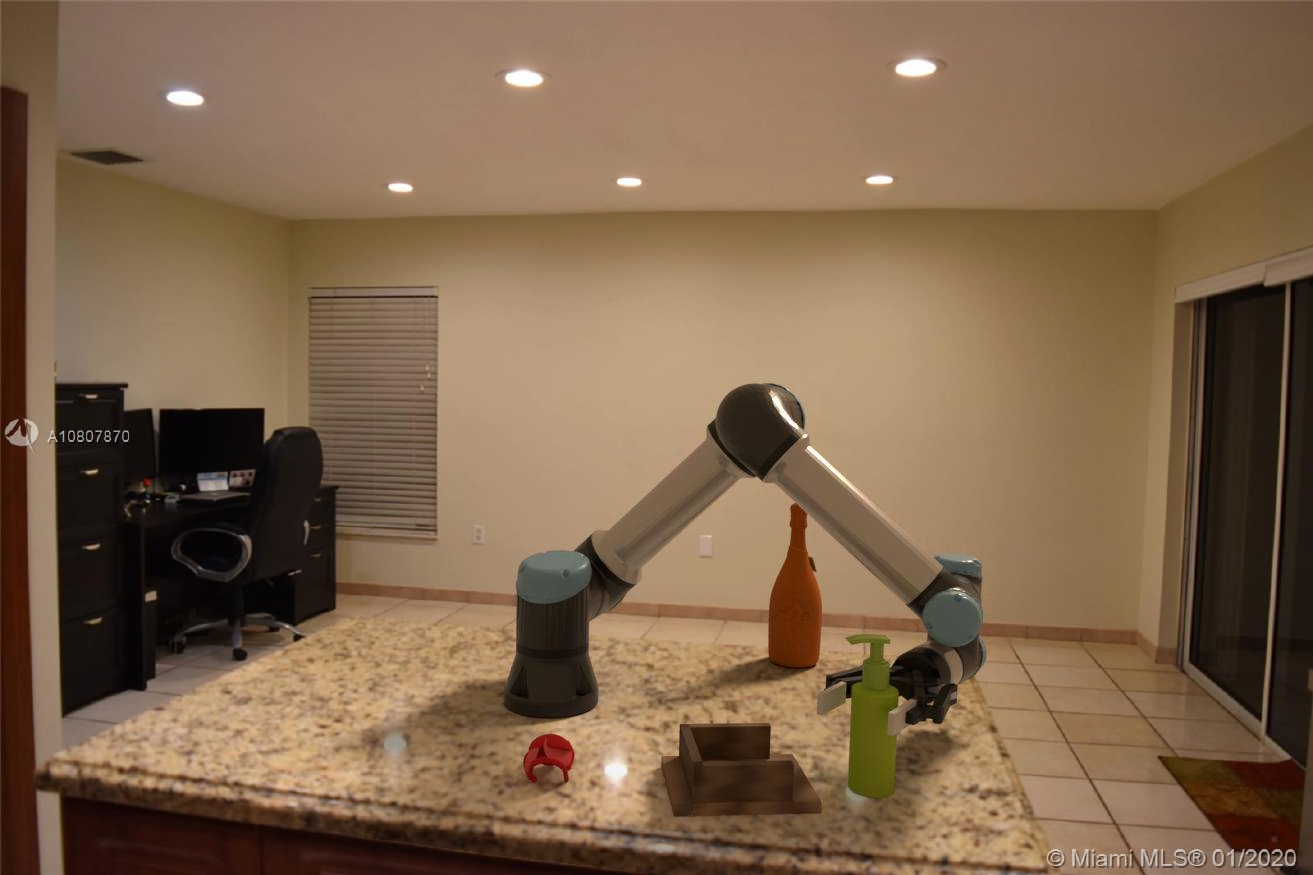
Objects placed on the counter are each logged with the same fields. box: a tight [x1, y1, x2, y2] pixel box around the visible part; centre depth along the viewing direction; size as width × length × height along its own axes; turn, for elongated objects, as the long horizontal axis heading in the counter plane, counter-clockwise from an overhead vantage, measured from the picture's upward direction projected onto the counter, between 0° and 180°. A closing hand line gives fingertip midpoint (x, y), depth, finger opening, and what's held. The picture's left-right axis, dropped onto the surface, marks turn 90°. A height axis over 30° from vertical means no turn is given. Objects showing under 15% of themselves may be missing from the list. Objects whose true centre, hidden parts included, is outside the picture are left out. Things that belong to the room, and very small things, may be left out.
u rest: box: [660, 722, 822, 818], centre depth 116 cm, size 18×14×6 cm
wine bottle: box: [767, 502, 823, 669], centre depth 169 cm, size 10×10×30 cm
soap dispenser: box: [845, 633, 900, 799], centre depth 117 cm, size 6×7×20 cm
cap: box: [522, 733, 576, 784], centre depth 118 cm, size 8×6×6 cm
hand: (854, 714), depth 113 cm, fingers open, 9 cm apart
